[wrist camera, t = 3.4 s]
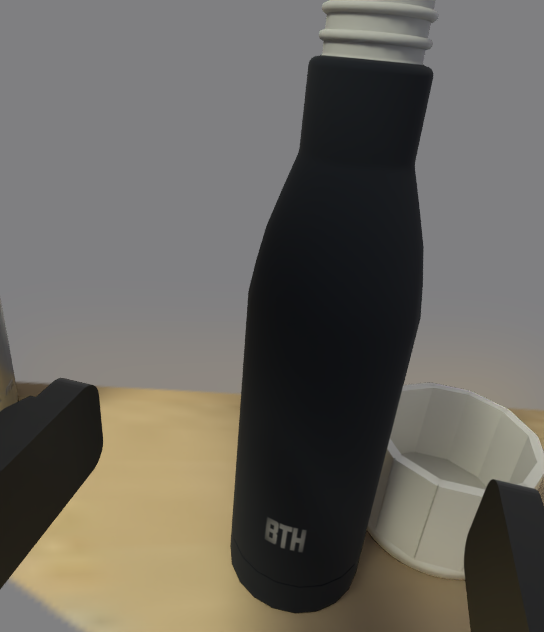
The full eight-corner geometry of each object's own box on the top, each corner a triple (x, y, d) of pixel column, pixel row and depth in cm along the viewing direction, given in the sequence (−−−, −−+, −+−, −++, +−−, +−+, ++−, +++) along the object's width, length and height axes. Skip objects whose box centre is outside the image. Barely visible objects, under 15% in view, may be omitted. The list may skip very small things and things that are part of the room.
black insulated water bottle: (327, 493, 29) (463, -217, 15) (378, 596, 24) (662, -356, 10) (218, 512, 27) (259, -277, 13) (247, 629, 22) (368, -491, 8)
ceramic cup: (348, 553, 26) (368, 470, 23) (361, 444, 33) (378, 371, 30) (523, 600, 24) (566, 516, 21) (496, 475, 32) (525, 401, 29)
